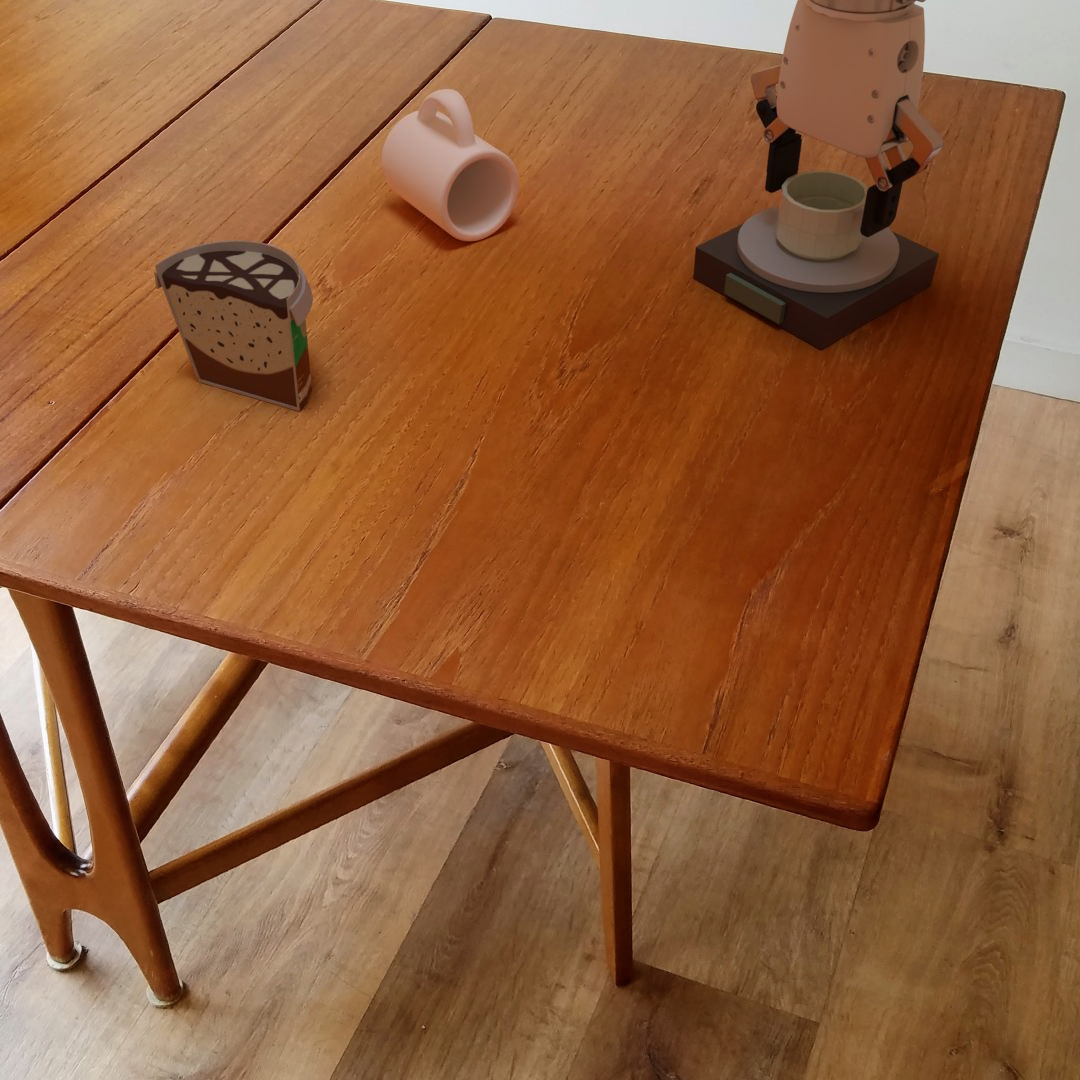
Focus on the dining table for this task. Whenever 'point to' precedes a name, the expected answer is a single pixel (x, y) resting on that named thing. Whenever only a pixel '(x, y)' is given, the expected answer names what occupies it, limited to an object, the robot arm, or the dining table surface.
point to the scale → (813, 278)
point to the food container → (242, 318)
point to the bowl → (821, 214)
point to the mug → (450, 169)
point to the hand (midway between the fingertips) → (826, 207)
